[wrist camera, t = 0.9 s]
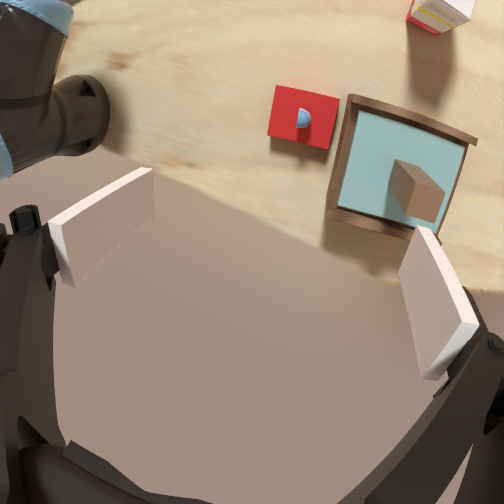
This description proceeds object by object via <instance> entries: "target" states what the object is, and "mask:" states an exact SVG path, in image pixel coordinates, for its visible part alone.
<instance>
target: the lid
mask: <svg viewBox="0 0 504 504" xmlns="http://www.w3.org/2000/svg"><path fill="white" fill-rule="evenodd" d="M464 149H465V147H463V146H461V145H459V144H457V143H454V142H452V141H449V140H447V139H445V138H442V137H440V136H437V135H434V134H432V133H429V132H427V131H424V130H421V129H418V128H416V127H413V126H410V125H407V124H404V123H401V122H398V121H395V120H392V119H389V118H385V117H382V116H379V115H375V114H372V113H368V112H365V111H361V110H359V111H358V116H357V120H356V125H355V130H354V134H353V139H352V143H351V148H350V152H349V156H348V160H347V165H346V169H345V173H344V177H343V181H342V185H341V189H340V193H339V197H338V200H337V205H339V206H342V207H346V208H350V209H354V210H358V211H361V212H365V213H369V214H372V215H376V216H379V217H383V218H387V219H390V220H393V221H397V222H400V223H404V224H407V225H410V226H414V227H416V225H419V226H422V227H425V228H429V229H431V231H432V232H433V233H436V231H437V229H438V226H439V224H440V221H441V219H442V216H443V214H444V211H445V208H446V205H447V203H448V200H449V197H450V194H451V191H452V188H453V185H454V182H455V179H456V176H457V173H458V170H459V167H460V163H461V160H462V156H463V153H464Z"/></svg>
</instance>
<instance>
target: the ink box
mask: <svg viewBox="0 0 504 504" xmlns="http://www.w3.org/2000/svg"><path fill="white" fill-rule="evenodd" d="M476 1H477V0H413V1H412V4H411V7H410V10H409V12H408V15H407V18H406V21H408V22H411V23H413V24H414V25H416V26H418V27H420V28H422V29H424V30H426V31H427V32H429V33H431V34H433V35H434V36H437V35H439V34H441V33H443V32H446V31H448V30H450V29H452V28H455V27H457V26H459V25H462V24H464V23H467V22H469V21H470V20H471V16H472V13H473V10H474V7H475V4H476Z"/></svg>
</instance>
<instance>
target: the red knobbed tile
mask: <svg viewBox="0 0 504 504" xmlns="http://www.w3.org/2000/svg"><path fill="white" fill-rule="evenodd" d="M339 100H340V99H338V98H334V97H330V96H326V95H322V94H317V93H313V92H309V91H304V90H299V89H294V88H289V87H284V86H278V85H276V88H275V94H274V99H273V105H272V111H271V116H270V122H269V127H268V133H267V135H268V136H273V137H277V138H282V139H287V140H291V141H295V142H300V143H304V144H308V145H312V146H316V147H320V148H324V149H329V144H330V140H331V136H332V132H333V127H334V123H335V118H336V114H337V109H338V105H339Z"/></svg>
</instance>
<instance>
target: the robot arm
mask: <svg viewBox="0 0 504 504" xmlns="http://www.w3.org/2000/svg"><path fill="white" fill-rule="evenodd" d="M73 16H74V10H73V8H72V7H71V6H70V5H69V4H67V3H64V2H62V1H58V0H0V180H2V179H4V178H8V177H11V176H12V175H13V174H15V173H17V172H19V171H21V170H23V169H25V168H27V167H29V166H32V165H34V164H36V163H38V162H40V161H43V160H45V159H47V158H50V157H52V156H80V155H83V154H85V153H88V152H90V151H92V150H94V149H95V148H96V147H97V146H98V145H99V144H100V143H101V141H102V140H103V138H104V136H105V134H106V131H107V128H108V124H109V102H108V98H107V95H106V92H105V90H104V88H103V86H102V85H101V84H100V83H99V81H98V80H96V79H95V78H94V77H92V76H89V75H74V76H70V77H67V78H65V79H63V80H61V81H60V82H58V83H56V84H54V85H53V83H54V79H55V76H56V72H57V68H58V65H59V61H60V58H61V55H62V51H63V48H64V45H65V42H66V39H67V38H68V37H69V34H68V32H69V29H70V26H71V22H72V19H73ZM9 217H10V221H11V226H12V230H13V235H9V234H7V232H6V228H5V225H4V224H2V223H0V504H212V503H208V502H205V501H202V500H199V499H191V498H182V497H175V496H168V495H161V494H155V493H150V492H146V491H144V490H143V489H141V488H140V487H138V486H137V485H136V484H134V483H133V482H132V481H130V480H129V479H128V478H127V477H125V476H124V475H123V474H122V473H121V472H119V471H118V470H117V469H116V468H115V467H113V466H112V465H111V464H110V463H109V462H108V461H106V460H104V459H102V458H101V457H99V456H97V455H95V454H94V453H92V452H90V451H88V450H87V449H85V448H83V447H82V446H80V445H78V444H77V443H75V442H73V441H72V440H71V441H70V443H69V444H68V446H66V443H65V440H64V438H63V436H62V434H61V431H60V429H59V426H58V421H57V414H56V403H55V390H54V372H53V318H54V300H55V287H56V281H55V277H54V274H56V273H57V272H58V271H60V274H61V278H62V281H63V283H66V284H68V285H70V286H72V287H75V288H76V287H77V286H78V285H79V284H80V283H81V282H82V281H83V280H84V279H85V278H86V277H87V276H88V275H89V274H90V273H91V272H93V271H94V269H96V268H97V267H98V266H99V265H100V264H101V263H102V262H103V261H104V260H105V259H107V258H108V257H109V256H110V255H111V254H112V253H113V252H114V251H115V250H117V249H118V248H119V247H120V246H121V245H122V244H123V243H125V241H127V240H128V239H129V238H130V237H131V236H133V235H134V234H135V233H136V232H137V231H138V230H140V229H141V228H142V227H143V226H144V225H145V224H147V223H148V222H149V221H150V220H151V219H153V218H154V200H153V169H149V168H142V167H141V168H139V169H137V170H135V171H133V172H131V173H129V174H127V175H125V176H124V177H122V178H120V179H118V180H116V181H114V182H112V183H111V184H109V185H107V186H105V187H103V188H102V189H100V190H98V191H96V192H95V193H93V194H92V195H90V196H88V197H86V198H84V199H83V200H81V201H80V202H78V203H76V204H75V205H73V206H71V207H70V208H68V209H67V210H65V211H63V212H62V213H60V214H59V215H57V216H56V217H54V218H53V219H51V220H49V221H48V223H46V224H45V225H43V226H41V221H40V216H39V211H38V207H37V206H36V205H25V206H22V207H19V208H17V209H15V210H14V211H12V212H11V213H10V214H9ZM398 276H399V280H400V284H401V287H402V291H403V295H404V299H405V303H406V307H407V311H408V316H409V320H410V325H411V329H412V334H413V338H414V344H415V349H416V354H417V359H418V366H419V371H420V378H421V379H427V380H436V381H437V380H439V379H440V377H441V376H442V375H443V374H444V373H445V371H446V370H447V372H448V377H449V379H448V380H447V381H446V382H445V383H444V385H443V386H442V387H441V388H440V389H439V390H438V392H436V394H435V395H434V396H433V397H434V399H433V401H432V402H431V403H430V404H429V406H428V407H427V409H426V410H425V411H424V412H423V414H422V415H421V416H420V418H419V419H418V420H417V422H416V423H415V424H414V425H413V427H412V428H411V429H410V430H409V431H408V433H407V434H406V435H405V436H404V437H403V439H402V440H401V441H400V442H399V443H398V444H397V446H396V447H395V448H394V449H393V450H392V451H391V452H390V453H389V455H387V456H386V458H385V459H384V460H383V461H382V462H381V463H380V464H379V465H378V466H377V467H376V468H375V469H374V470H373V471H372V472H371V473H370V474H369V475H368V476H367V477H366V478H365V479H364V480H363V481H362V482H361V483H360V484H359V485H358V486H356V487H355V488H354V489H353V490H352V491H351V492H350V493H349V494H348V495H347V496H345V497H344V498H343V499H342V500H341V501H340V502H338V503H337V504H435V503H436V502H437V500H438V499H439V498H440V496H441V495H442V493H443V492H444V490H445V489H446V488H447V486H448V485H449V483H450V482H451V480H452V478H453V477H454V475H455V474H456V472H457V470H458V469H459V467H460V465H461V464H462V462H463V460H464V458H465V457H466V455H467V453H468V451H469V450H470V448H471V446H472V444H473V447H472V450H471V454H470V458H469V461H468V464H467V467H466V471H465V474H464V477H463V480H462V482H461V485H460V488H459V491H458V493H457V496H456V499H455V501H454V504H504V341H503V340H502V339H501V338H500V337H499V336H497V335H495V334H494V333H490V332H488V329H487V327H486V325H485V323H484V320H483V318H482V316H481V313H480V312H479V309H478V307H477V305H476V303H475V301H474V299H473V297H472V295H471V294H470V293H469V291H468V290H467V289H466V288H465V287H464V286H462V285H461V283H460V282H459V280H458V278H457V276H456V274H455V272H454V270H453V268H452V266H451V264H450V262H449V261H448V259H447V257H446V255H445V253H444V252H443V250H442V248H441V246H440V245H439V243H438V241H437V239H436V238H435V236H434V234H433V233H432V231H431V229H429V228H425V227H422V226H419V225H416V228H415V231H414V234H413V236H412V239H411V241H410V244H409V247H408V249H407V252H406V254H405V256H404V259H403V261H402V264H401V266H400V268H399V271H398ZM473 442H474V443H473Z"/></svg>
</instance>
